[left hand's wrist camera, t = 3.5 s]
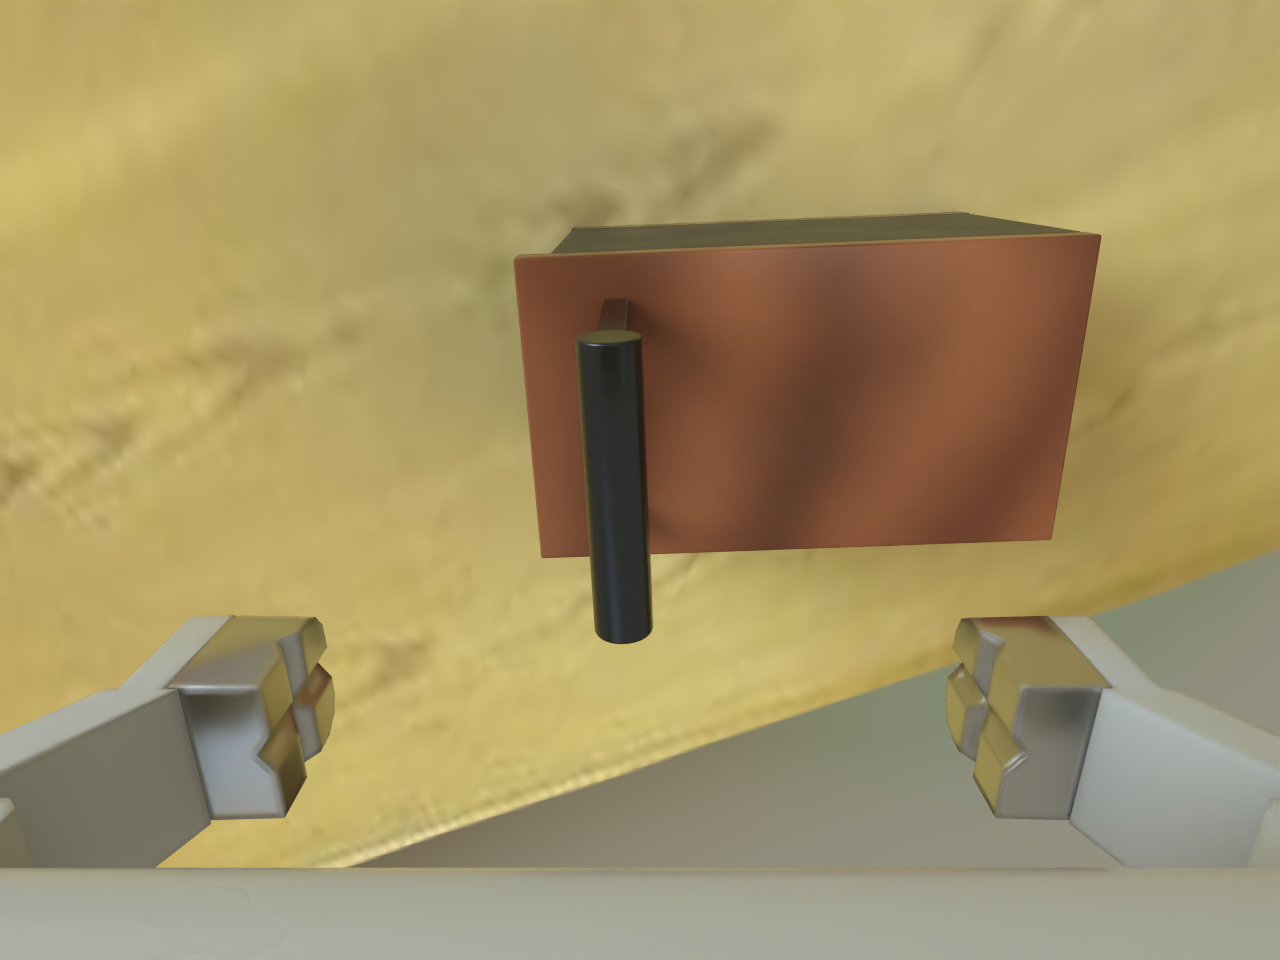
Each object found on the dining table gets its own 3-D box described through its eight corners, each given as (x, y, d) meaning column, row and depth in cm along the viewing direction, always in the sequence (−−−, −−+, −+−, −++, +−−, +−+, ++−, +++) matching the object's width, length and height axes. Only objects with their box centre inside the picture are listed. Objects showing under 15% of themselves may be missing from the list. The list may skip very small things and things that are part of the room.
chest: (587, 449, 35) (571, 544, 27) (573, 227, 32) (548, 253, 23) (938, 436, 35) (1038, 527, 26) (961, 212, 32) (1085, 231, 23)
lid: (544, 546, 27) (510, 686, 19) (517, 254, 23) (464, 296, 16) (1038, 528, 26) (1186, 663, 19) (1085, 231, 23) (1286, 263, 16)
